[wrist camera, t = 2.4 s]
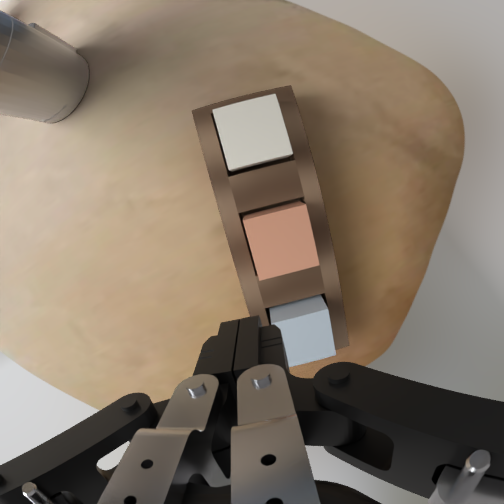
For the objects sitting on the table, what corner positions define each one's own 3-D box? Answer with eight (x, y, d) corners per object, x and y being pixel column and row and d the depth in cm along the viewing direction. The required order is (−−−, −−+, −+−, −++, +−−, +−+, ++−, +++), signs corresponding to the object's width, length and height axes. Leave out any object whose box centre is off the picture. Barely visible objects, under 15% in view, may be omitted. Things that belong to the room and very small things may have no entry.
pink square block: (244, 215, 26) (242, 220, 23) (299, 201, 26) (305, 204, 22) (258, 268, 27) (259, 280, 24) (311, 254, 27) (319, 265, 23)
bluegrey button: (269, 306, 28) (271, 323, 25) (319, 293, 28) (328, 308, 24) (280, 348, 29) (283, 368, 26) (327, 336, 29) (335, 354, 25)
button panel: (199, 119, 27) (191, 110, 23) (286, 97, 26) (291, 85, 22) (264, 347, 32) (265, 367, 29) (339, 327, 32) (349, 345, 28)
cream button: (217, 118, 24) (212, 109, 20) (272, 104, 24) (275, 93, 20) (232, 171, 25) (228, 170, 22) (287, 157, 25) (293, 153, 21)
